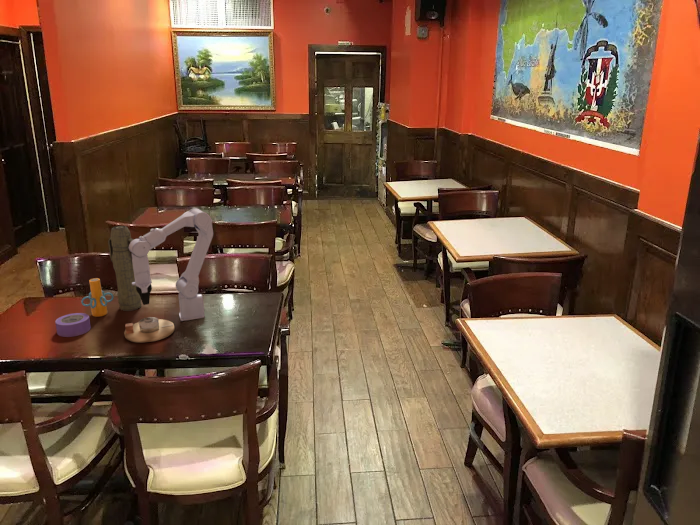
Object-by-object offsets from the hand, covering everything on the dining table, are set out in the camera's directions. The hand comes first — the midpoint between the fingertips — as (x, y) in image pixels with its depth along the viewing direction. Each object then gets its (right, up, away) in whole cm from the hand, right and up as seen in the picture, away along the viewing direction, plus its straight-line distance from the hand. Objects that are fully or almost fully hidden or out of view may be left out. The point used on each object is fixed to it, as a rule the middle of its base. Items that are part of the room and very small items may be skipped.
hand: (146, 304), depth 218 cm
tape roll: (-28, -10, 0) cm, 30 cm away
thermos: (-14, -3, +22) cm, 26 cm away
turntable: (+2, -11, -3) cm, 11 cm away
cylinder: (-24, -5, +15) cm, 29 cm away
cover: (+3, -9, -4) cm, 10 cm away
